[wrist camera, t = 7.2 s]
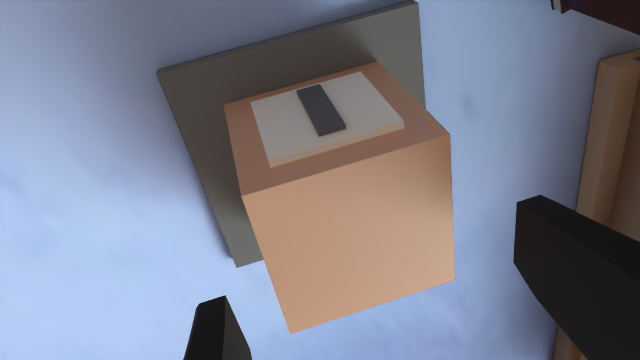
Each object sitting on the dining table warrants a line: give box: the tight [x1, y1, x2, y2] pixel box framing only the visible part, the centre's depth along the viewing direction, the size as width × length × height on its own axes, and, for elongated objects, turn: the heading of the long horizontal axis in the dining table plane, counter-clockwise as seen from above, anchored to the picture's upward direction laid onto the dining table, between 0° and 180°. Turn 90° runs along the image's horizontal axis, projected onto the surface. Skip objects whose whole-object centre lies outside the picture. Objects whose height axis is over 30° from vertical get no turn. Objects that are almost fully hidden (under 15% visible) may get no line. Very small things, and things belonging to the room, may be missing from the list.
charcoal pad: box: [157, 0, 426, 268], centre depth 17 cm, size 8×8×1 cm
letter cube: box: [224, 61, 455, 334], centre depth 14 cm, size 5×5×5 cm
